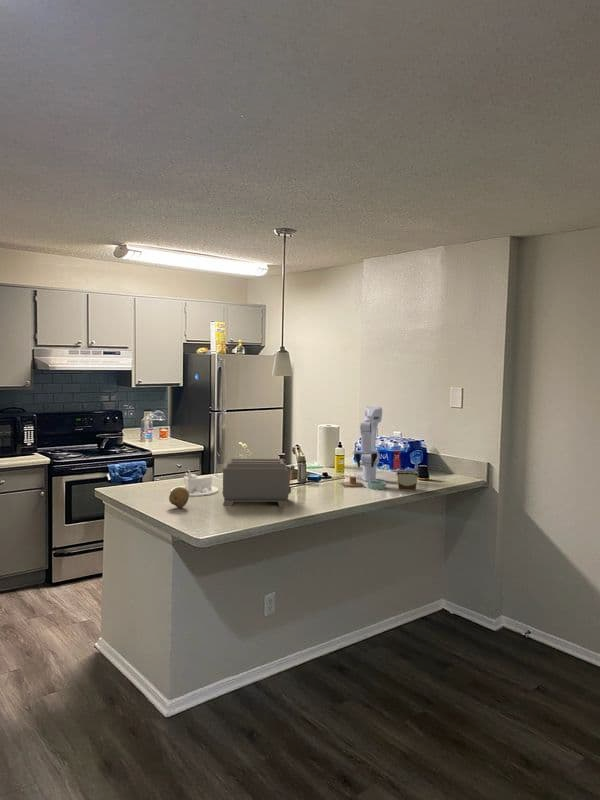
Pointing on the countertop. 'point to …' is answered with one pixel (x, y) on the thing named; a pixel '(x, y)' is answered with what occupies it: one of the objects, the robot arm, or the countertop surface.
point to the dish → (198, 485)
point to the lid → (352, 483)
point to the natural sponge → (179, 497)
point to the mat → (348, 486)
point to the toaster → (256, 481)
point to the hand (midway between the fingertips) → (365, 467)
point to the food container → (407, 479)
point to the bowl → (377, 484)
